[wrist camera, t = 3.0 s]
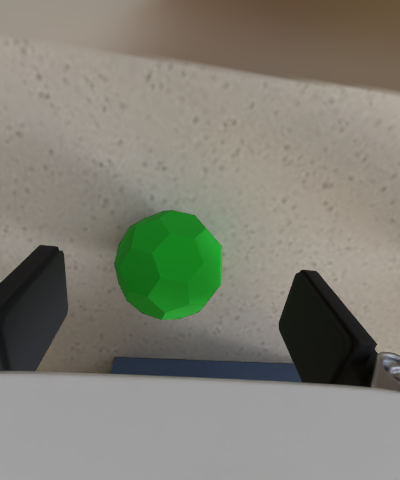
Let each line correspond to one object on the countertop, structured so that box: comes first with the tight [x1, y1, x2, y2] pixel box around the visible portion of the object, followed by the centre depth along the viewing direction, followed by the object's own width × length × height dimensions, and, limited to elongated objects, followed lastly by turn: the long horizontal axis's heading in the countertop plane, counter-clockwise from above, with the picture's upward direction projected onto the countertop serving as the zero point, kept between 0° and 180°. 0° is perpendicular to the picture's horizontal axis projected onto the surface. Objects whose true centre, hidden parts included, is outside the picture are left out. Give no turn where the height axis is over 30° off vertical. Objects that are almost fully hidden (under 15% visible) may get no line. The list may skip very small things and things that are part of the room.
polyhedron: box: [114, 210, 222, 320], centre depth 13 cm, size 5×5×5 cm
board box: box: [110, 357, 302, 383], centre depth 19 cm, size 18×16×7 cm
